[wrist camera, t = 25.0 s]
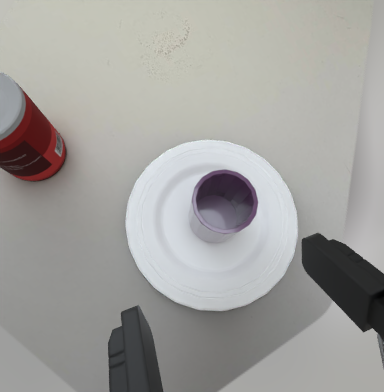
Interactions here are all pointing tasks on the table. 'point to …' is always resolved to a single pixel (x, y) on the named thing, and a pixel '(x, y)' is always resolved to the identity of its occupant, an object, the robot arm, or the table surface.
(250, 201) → the cup
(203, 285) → the plate
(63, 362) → the table surface
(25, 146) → the canned food
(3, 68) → the table surface
